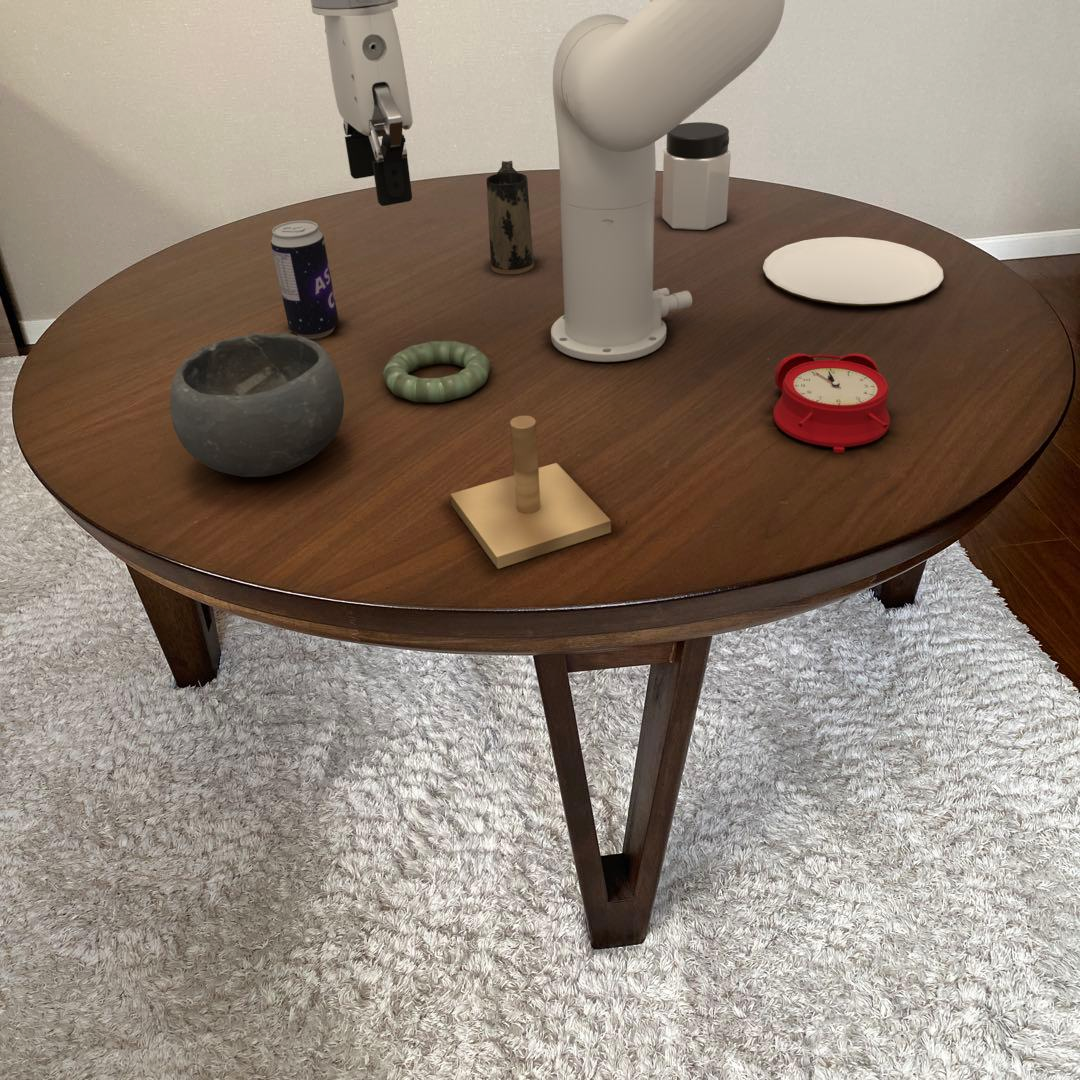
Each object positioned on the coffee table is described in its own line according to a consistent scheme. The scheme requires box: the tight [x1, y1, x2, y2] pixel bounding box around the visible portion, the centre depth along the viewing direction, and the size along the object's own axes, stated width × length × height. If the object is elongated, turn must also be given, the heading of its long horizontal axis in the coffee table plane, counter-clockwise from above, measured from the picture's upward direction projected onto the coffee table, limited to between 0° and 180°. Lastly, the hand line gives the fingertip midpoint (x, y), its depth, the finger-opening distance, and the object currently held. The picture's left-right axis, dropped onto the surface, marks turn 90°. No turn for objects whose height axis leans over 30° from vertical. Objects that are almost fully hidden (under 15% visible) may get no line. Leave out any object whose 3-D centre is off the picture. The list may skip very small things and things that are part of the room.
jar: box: [661, 121, 732, 231], centre depth 135 cm, size 9×8×12 cm
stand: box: [449, 415, 612, 570], centre depth 80 cm, size 10×10×9 cm
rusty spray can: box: [486, 160, 535, 275], centre depth 125 cm, size 8×6×12 cm
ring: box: [382, 340, 491, 404], centre depth 103 cm, size 11×11×2 cm
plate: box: [762, 236, 944, 307], centre depth 120 cm, size 21×21×1 cm
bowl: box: [169, 332, 345, 478], centre depth 89 cm, size 15×15×10 cm
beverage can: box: [270, 219, 340, 340], centre depth 111 cm, size 6×6×12 cm
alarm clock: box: [772, 352, 891, 454], centre depth 93 cm, size 10×6×15 cm
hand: (380, 188), depth 97 cm, fingers open, 9 cm apart
